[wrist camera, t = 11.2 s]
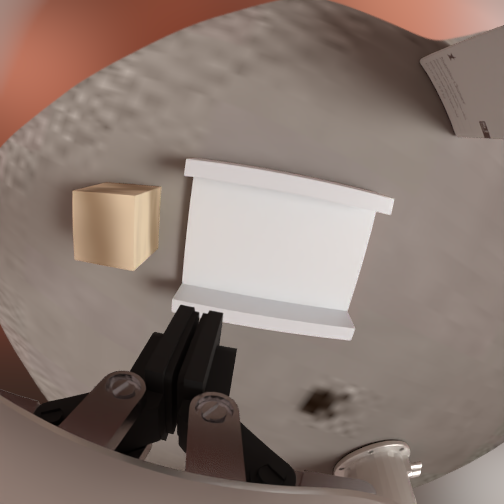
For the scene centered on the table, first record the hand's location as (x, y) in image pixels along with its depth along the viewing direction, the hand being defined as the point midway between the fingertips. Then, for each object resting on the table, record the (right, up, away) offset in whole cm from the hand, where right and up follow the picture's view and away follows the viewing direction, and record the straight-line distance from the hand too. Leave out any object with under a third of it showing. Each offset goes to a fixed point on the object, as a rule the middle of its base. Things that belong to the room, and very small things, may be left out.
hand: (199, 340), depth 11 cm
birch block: (-9, +7, +14) cm, 18 cm away
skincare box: (+21, +19, +9) cm, 30 cm away
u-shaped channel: (+4, +4, +14) cm, 15 cm away
